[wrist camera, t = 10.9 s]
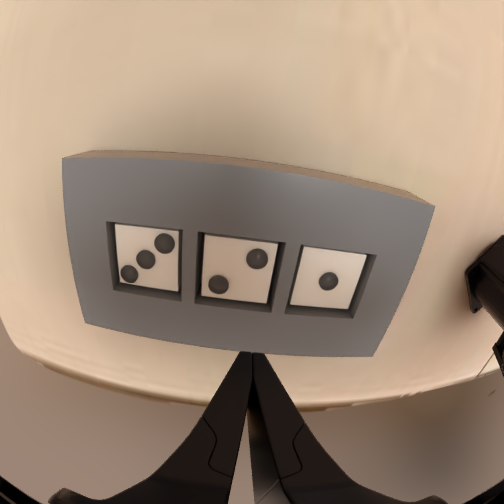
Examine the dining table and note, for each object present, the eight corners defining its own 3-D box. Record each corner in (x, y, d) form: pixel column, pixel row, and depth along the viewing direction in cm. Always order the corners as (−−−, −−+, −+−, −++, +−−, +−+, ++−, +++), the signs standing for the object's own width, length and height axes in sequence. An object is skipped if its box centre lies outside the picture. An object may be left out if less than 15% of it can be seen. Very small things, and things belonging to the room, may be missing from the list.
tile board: (408, 192, 17) (435, 206, 13) (360, 328, 22) (372, 356, 19) (90, 150, 15) (62, 158, 12) (102, 298, 20) (85, 322, 17)
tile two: (275, 232, 17) (278, 245, 15) (265, 287, 18) (266, 305, 17) (209, 223, 16) (204, 236, 15) (205, 280, 18) (201, 297, 16)
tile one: (357, 243, 17) (368, 256, 15) (340, 294, 19) (348, 310, 17) (298, 234, 17) (304, 248, 15) (286, 288, 19) (290, 306, 17)
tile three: (185, 220, 16) (177, 232, 15) (184, 276, 18) (177, 293, 16) (127, 214, 16) (113, 225, 14) (130, 268, 18) (119, 283, 16)
